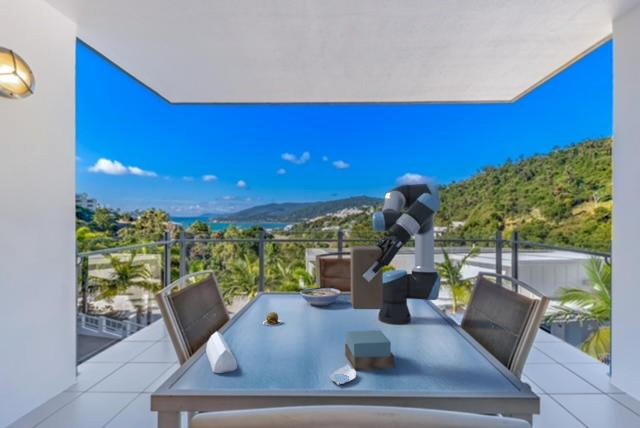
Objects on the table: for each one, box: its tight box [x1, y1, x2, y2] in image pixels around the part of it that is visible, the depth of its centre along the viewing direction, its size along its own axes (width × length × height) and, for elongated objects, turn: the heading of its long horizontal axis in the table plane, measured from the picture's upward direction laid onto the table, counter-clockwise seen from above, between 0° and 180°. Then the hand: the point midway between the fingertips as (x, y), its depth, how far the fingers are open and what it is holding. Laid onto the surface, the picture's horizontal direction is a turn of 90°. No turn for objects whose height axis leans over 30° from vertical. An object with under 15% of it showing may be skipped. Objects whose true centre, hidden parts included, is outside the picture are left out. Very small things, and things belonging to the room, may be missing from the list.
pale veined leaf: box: [329, 362, 357, 386], centre depth 106 cm, size 8×12×2 cm, turn 160°
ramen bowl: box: [297, 285, 341, 307], centre depth 198 cm, size 25×23×8 cm
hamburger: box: [262, 311, 283, 327], centre depth 163 cm, size 12×12×6 cm
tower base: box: [344, 343, 395, 372], centre depth 119 cm, size 13×13×4 cm
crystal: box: [205, 331, 238, 374], centre depth 120 cm, size 7×7×24 cm
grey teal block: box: [346, 329, 392, 358], centre depth 119 cm, size 12×12×4 cm
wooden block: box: [350, 245, 384, 310], centre depth 120 cm, size 10×10×20 cm
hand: (360, 275), depth 119 cm, fingers closed on wooden block, 11 cm apart
